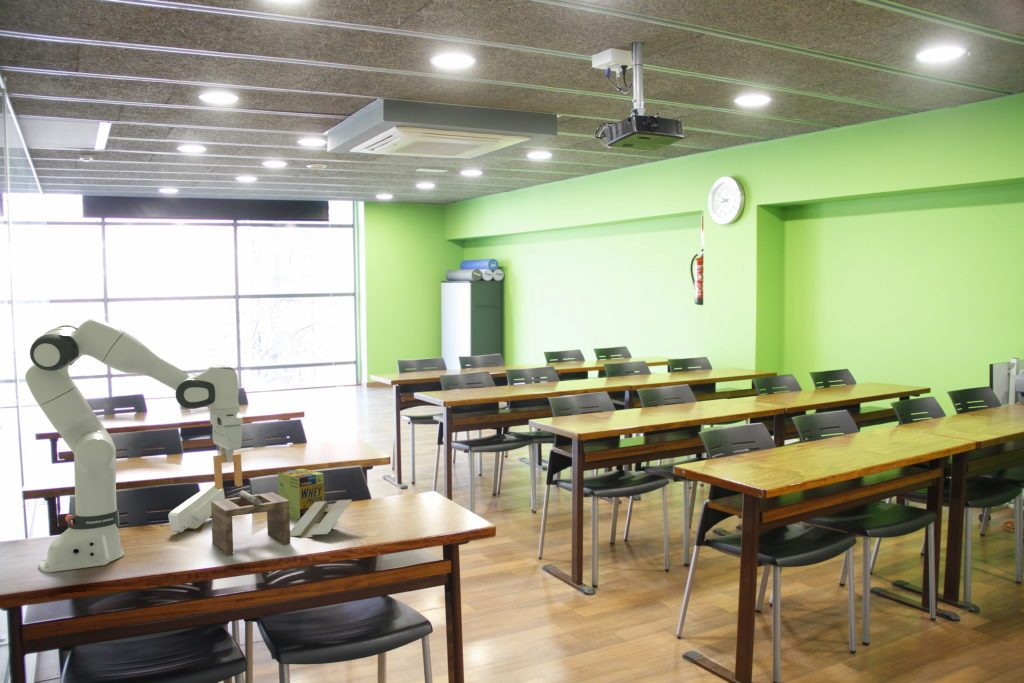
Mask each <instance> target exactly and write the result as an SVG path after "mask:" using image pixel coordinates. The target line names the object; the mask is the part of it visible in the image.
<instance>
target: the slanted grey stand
mask: <svg viewBox="0 0 1024 683" xmlns="http://www.w3.org/2000/svg"><path fill="white" fill-rule="evenodd" d="M352 501H353V499H338V500H337V501H335V502H334V503H328V501H327V500H324V501H323V502H322V501H321V502H314V504H313V505H312V506H311V507H310V508H309V509H308V510H307V512H306V513H305V514H304V515H303V517H302V518H301V519H300V520H298V521H297V522H296V523H295V525H294V526H293V527H292V528H290V537H293V536H295V537H297V536H300V538H313V537H314V536H315V535H329V533H330V531H332V530H333V528H334V527H335V525H337V522H338V520H339V519H340V517H341V516H342V514H343V513H344V511H346V509H347V508H348V506H350V503H351V502H352Z"/></svg>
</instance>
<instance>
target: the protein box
mask: <svg viewBox="0 0 1024 683" xmlns="http://www.w3.org/2000/svg"><path fill="white" fill-rule="evenodd" d="M324 478H325V477H324V473H323V472H319V471H314V470H309V469H305V468H299V469H292V470H291V469H290V470H285V471H280V472H279V471H278V472H277V492H278V494H277V495H279V496H281V497H283V498H285V499H287V500H289V511H290V518H291V519H295V520H298V521H299V520H300V519H301V518H302V517H303V515H304V514H305V513H306V512H307V510H308V509H309V508H310V507H311V506H312V505H313V504H314V502H321V501H322V502H323V501H325V486H324V485H325V482H324V480H325V479H324Z"/></svg>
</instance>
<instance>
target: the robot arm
mask: <svg viewBox="0 0 1024 683" xmlns="http://www.w3.org/2000/svg"><path fill="white" fill-rule="evenodd" d="M82 356H89V357H92V358H94V359H96V360H97V361H99V362H101V363H102V364H104V365H106V366H107V367H110V368H112V369H114V370H117V371H118V372H122V373H125V374H135V375H137V374H138V375H142V376H148V377H150V378H152V379H153V380H156V381H158V382H160V383H162V384H163V385H166V386H167V387H169V388H171V389H172V390H174V391H175V399H176V401H177V402H178V404H179V405H180V406H181V407H182V408H184V409H188V410H197V409H200V408H203V407H207V406H208V407H209V423H210V425H212V429H211V430H212V442H213V444H215V445H218V446H219V450H220V455H226V463H228V464H229V463H234V462H233V453H235V452H234V451H238V450H240V449H241V447H242V444H243V443H242V442H243V441H242V438H243V429H242V425H243V424H244V419H243V418H244V417H243V416H242V414H241V410H240V409H241V408H240V402H239V393H240V391H239V389H240V388H239V379H238V374H237V371H236V370H235V369H234V368H233V367H230V366H226V365H219V364H218V365H217V364H215V365H210V367H208V368H207V369H206V370H204V371H202V372H200V373H199V374H195V373H189V372H186V371H184V370H182V369H180V368H178V367H177V366H175V365H173V364H171V363H169V362H167V361H165V360H164V359H162V358H160V357H159V356H158V355H157V354H155V353H154V352H153V351H151V350H150V349H149V348H148V347H147V345H145V344H144V343H142V342H141V341H139V339H137V338H136V337H134V336H132V335H131V334H130V333H129V332H127V331H124V330H122V329H121V328H119V327H117V326H115V325H113V324H110V323H108V322H106V321H103V320H100V319H97V318H91V319H87V320H86V321H84V322H82V323H81V324H80V325H79V327H77V326H74V325H69V324H67V325H65V324H64V325H60V326H57V327H56V328H53V329H50V330H48V331H47V332H45V333H44V334H43V335H41V336H39V337H37V338H36V339H35V341H33V343H32V344H31V346H30V350H29V357H30V359H31V362H32V363H33V364H32V365H31V366H30V367H29V368H28V369H27V371H26V372H25V375H24V376H25V381H26V384H27V386H28V388H29V390H30V393H31V395H32V397H33V398H34V400H35V402H36V403H37V404H38V406H39V408H40V409H41V410H42V412H43V413H44V414H45V416H46V418H47V419H48V420H49V422H50V424H51V425H52V426H53V428H54V429H55V430H56V431H57V433H58V434H59V435H60V437H61V438H62V439H63V440H64V442H65V443H66V446H68V448H69V449H70V450H71V452H72V453H73V459H74V460H73V462H74V463H73V464H74V466H73V467H74V497H75V498H74V499H75V514H73V515H72V514H66V516H65V518H64V520H65V522H66V523H67V525H68V528H67V529H66V530H64V532H62V533H61V534H60V535H59V536H57V537H55V539H54V540H52V541H51V543H50V545H49V547H48V550H47V556H46V557H44V558H42V559H41V560H40V561H39V564H38V567H39V570H40V571H42V572H45V573H53V572H54V573H55V572H61V571H62V572H63V571H68V570H69V571H70V570H77V569H85V568H92V567H99V566H105V565H108V564H109V563H111V562H113V561H116V560H118V559H121V558H122V557H123V556H124V555H125V552H124V550H123V546H122V543H121V539H120V533H119V526H120V514H119V510H118V507H117V485H116V484H117V449H116V445H115V443H114V441H113V438H112V436H111V435H110V434H109V432H108V431H107V429H106V428H105V427H104V425H103V424H102V422H101V421H100V419H99V418H98V416H97V414H96V413H95V411H94V410H93V409H92V407H91V406H90V405H89V402H88V401H87V400H86V398H85V397H84V395H83V394H82V393H81V391H80V390H79V388H78V386H77V385H76V384H75V382H74V381H73V379H72V377H71V376H70V374H69V366H72V365H73V364H74V363H75V362H76V361H77V360H78V359H80V358H81V357H82Z"/></svg>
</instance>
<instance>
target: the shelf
mask: <svg viewBox="0 0 1024 683" xmlns="http://www.w3.org/2000/svg"><path fill="white" fill-rule="evenodd" d="M238 494H239V496H238V497H231V498H225V499H222V500H215V501H211V513H212V516H211V536H212V537H211V539H212V541H211V542H212V544H211V545H213V546H214V547H216V548H217V549H218V550H219V551H220V552H222V553H223V554H224V555H225V556H226V557H228V556H233V555H234V535H233V534H234V531H233V529H234V528H233V517H234V516H241V515H242V516H243V515H247V514H253V513H260V512H264V511H265V512H266V516H267V517H266V518H267V519H266V520H267V521H266V522H267V527H266V528H267V535H268V536H270V537H272V538H273V539H274V540H276V541H277V542H279V543H280V544H282V545H284V546H286V545H291V536H290V531H291V521H290V520H291V517H290V511H289V500H287V499H285V498H283V497H281V496H279V495H278V494H277V493H276V492H273V491H271V492H263V493H258V494H257V493H256V494H250V493H249V492H247V491H245V490H240V491H239V493H238ZM250 503H252V504H250ZM244 504H250V505H244ZM239 505H244V506H239Z"/></svg>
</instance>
